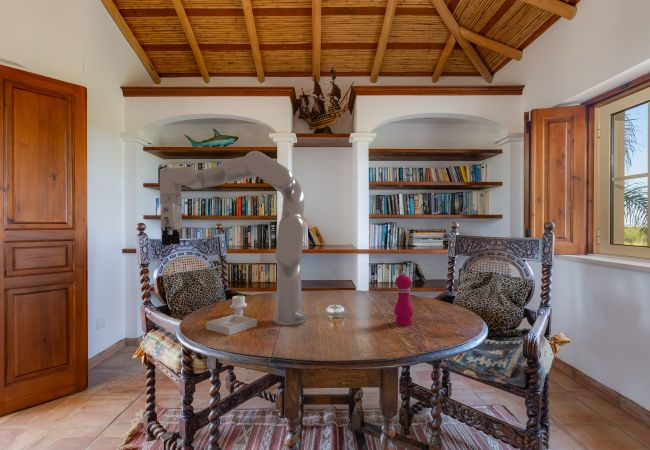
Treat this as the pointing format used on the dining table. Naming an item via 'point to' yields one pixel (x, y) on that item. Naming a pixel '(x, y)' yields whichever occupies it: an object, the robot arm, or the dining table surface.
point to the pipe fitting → (238, 304)
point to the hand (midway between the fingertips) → (171, 244)
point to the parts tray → (231, 324)
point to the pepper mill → (403, 300)
